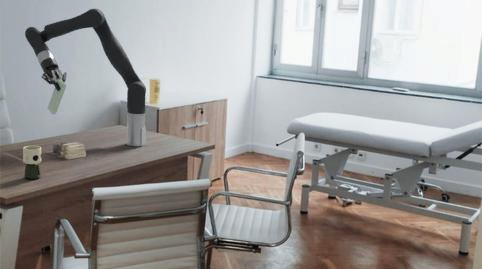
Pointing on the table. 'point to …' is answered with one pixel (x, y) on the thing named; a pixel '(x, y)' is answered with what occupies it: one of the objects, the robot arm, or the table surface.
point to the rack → (68, 150)
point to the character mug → (32, 161)
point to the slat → (56, 97)
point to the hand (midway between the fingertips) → (61, 89)
